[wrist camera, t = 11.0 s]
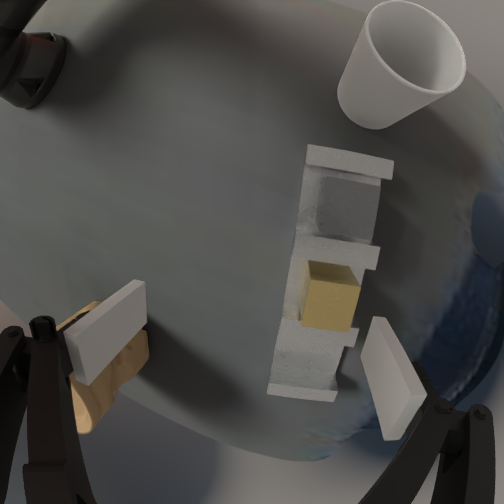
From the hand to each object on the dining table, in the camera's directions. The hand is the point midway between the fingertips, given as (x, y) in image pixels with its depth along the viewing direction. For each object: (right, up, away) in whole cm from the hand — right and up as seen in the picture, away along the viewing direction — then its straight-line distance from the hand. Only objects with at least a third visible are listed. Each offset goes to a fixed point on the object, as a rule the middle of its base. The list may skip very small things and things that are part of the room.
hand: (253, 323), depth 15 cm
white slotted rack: (+9, 0, +19) cm, 21 cm away
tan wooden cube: (+9, 0, +18) cm, 20 cm away
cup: (+14, +22, +13) cm, 29 cm away
